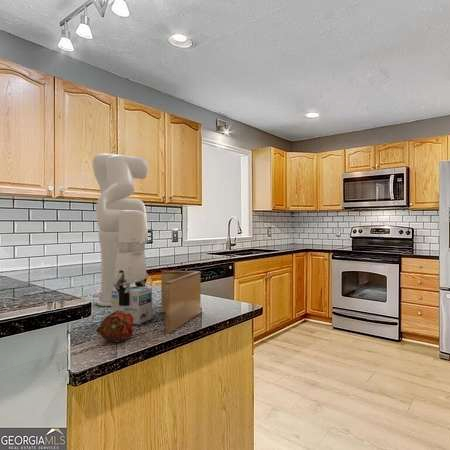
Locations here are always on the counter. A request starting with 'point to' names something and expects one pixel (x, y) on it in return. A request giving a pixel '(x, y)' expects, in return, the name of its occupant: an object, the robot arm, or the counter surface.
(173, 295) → the shelf
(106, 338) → the dragon fruit
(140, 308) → the light bulb box
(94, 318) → the counter surface
